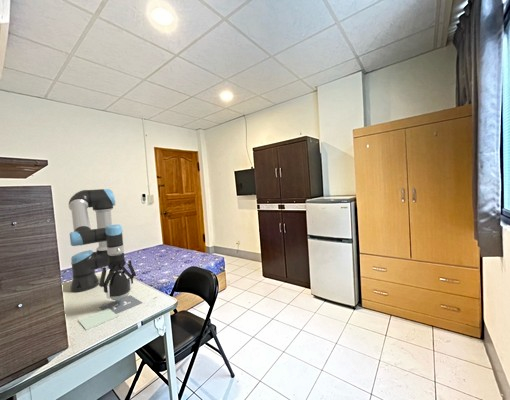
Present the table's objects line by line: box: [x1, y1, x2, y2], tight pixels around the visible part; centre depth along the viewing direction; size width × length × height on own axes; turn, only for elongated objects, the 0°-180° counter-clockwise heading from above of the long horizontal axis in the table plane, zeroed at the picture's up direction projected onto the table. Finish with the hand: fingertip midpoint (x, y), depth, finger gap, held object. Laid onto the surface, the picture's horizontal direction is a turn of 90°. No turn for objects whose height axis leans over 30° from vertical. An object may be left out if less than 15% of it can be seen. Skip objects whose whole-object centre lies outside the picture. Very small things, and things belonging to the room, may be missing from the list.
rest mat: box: [77, 308, 119, 331], centre depth 111 cm, size 13×13×1 cm
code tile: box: [98, 294, 143, 315], centre depth 124 cm, size 16×16×1 cm
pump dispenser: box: [108, 270, 131, 301], centre depth 123 cm, size 10×10×15 cm
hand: (119, 293), depth 124 cm, fingers closed on pump dispenser, 10 cm apart
